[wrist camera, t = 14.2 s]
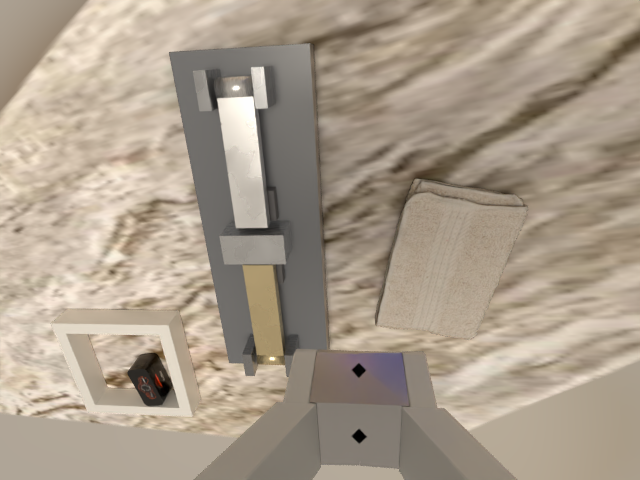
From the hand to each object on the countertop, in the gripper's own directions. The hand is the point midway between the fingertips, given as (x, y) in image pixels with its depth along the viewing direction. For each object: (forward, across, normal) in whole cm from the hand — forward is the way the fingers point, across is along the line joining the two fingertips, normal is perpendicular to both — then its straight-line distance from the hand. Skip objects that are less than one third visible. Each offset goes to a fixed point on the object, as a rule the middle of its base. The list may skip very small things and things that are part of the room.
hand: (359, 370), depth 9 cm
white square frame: (+31, +30, +28) cm, 51 cm away
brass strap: (+27, +10, +17) cm, 34 cm away
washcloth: (+32, -9, +14) cm, 36 cm away
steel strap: (+27, +10, +1) cm, 29 cm away
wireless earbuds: (+31, +27, +31) cm, 52 cm away
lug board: (+31, +10, +9) cm, 34 cm away
